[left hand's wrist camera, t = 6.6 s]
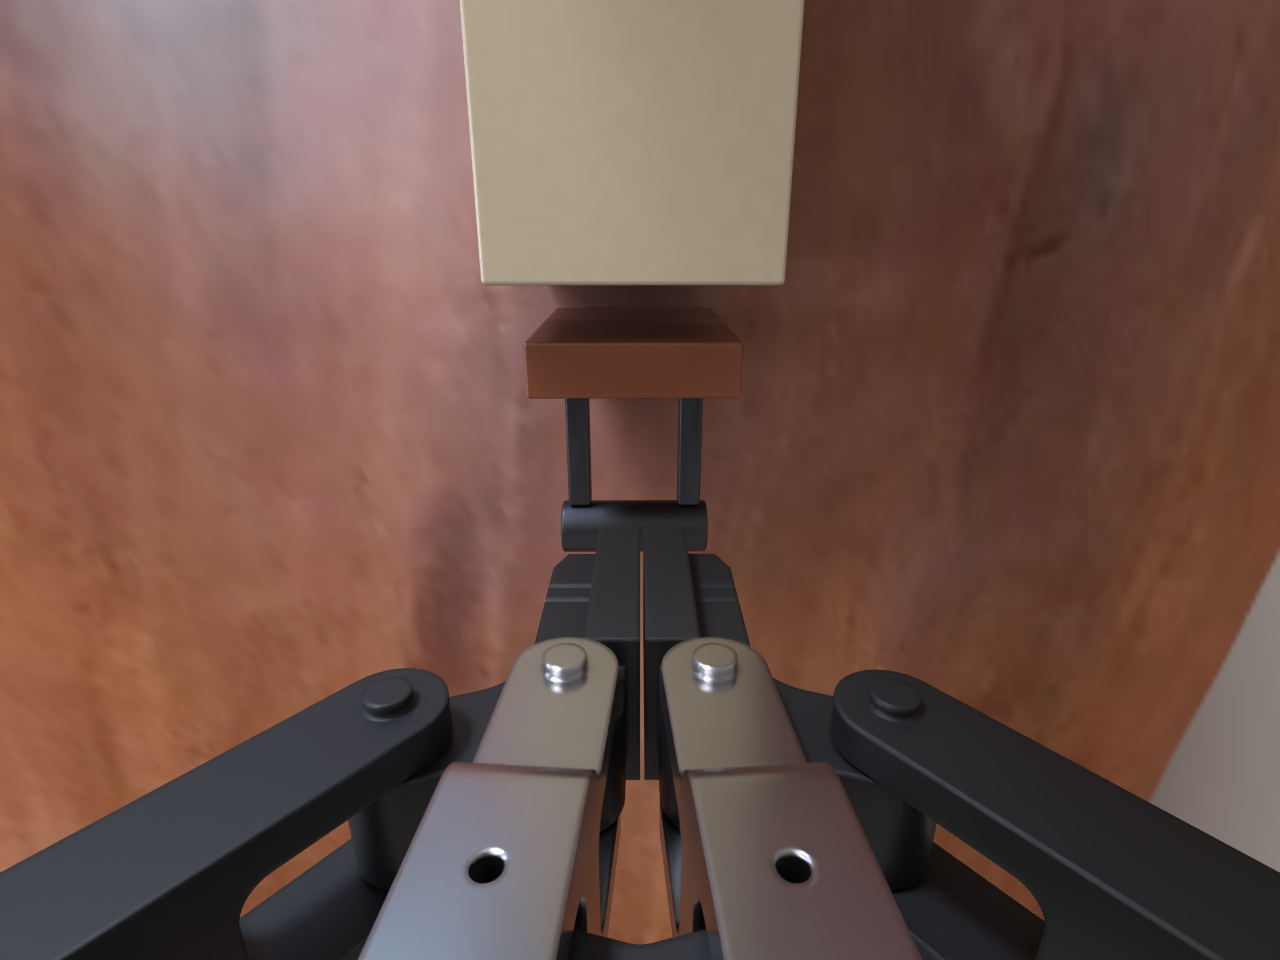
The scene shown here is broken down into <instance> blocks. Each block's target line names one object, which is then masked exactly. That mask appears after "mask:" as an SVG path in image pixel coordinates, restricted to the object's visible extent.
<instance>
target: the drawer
mask: <svg viewBox="0 0 1280 960" xmlns="http://www.w3.org/2000/svg"><path fill="white" fill-rule="evenodd" d="M524 359H525V376H526V394H527V397H528V398H530V399H535V398H565V410H566V436H567V462H568V488H569V501H564V502H563V506H562V516H561V538H562V547H563V550H564V551H565V552H593V551H596V548H597V540H598V533H599V527H640V551H643V546H644V527H684V529H685V535H686V542H687V549H688V551H705V549H706V546H707V508H706V503H705V501H704V500H700V472H701V441H702V410H703V398H739V397H740V396H741V380H742V360H743V343H742V342H741V340H740V339H739V338H738V337H737V336H736V335H735V334H734V333H733V332H732V331H731V330H730V329H729V327H728V326H727V325H726V324H725V323H724V322H723V321H722V320H721V319H720V318H719V317H718V316H717V314H716V313H715V312H714V311H713V310H712V309H711V308H557V309H556V310H555V311H554V312H553V313H552V314H551V315H550V316H549V317H548V318H547V319H546V321H545V322H544V323H543V324H542V325H541V326H540V327H539V328H538V329H537V330H536V331H535V332H534V333H533V334H532V335H531V336H530V338H529V339H528V340H527V341H526V342H525V343H524ZM589 398H679V412H678V463H677V500H595V501H591V499H592V486H591V448H590V410H589Z"/></svg>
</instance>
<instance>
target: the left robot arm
mask: <svg viewBox="0 0 1280 960" xmlns="http://www.w3.org/2000/svg"><path fill="white" fill-rule="evenodd" d="M643 646H644V767H645V780H659V790H660V822H659V826H660V839H661V847H662V855H663V863H664V871H665V880H666V888H667V896H668V904H669V912H670V920H671V929H672V937H673V938H670V939H666V940H662V941H658V942H654V943H650V944H644V945H636V944H630V943H626V942H622V941H618V940H614V939H610V938H607V937H608V929H609V920H610V912H611V904H612V896H613V888H614V880H615V871H616V863H617V855H618V847H619V839H620V826H621V822H620V813H621V812H622V809H623V806H624V802H625V783H626V780H640V527H599V533H598V540H597V548H596V554H569V555H567V556H566V557H565V558H564V559H563V560H562V561H561V562H560V563H559V564H558V565H557V566H555V567H554V568H553V572H552V576H551V580H550V584H549V589H548V593H547V597H546V602H545V605H544V609H543V613H542V617H541V621H540V625H539V629H538V633H537V637H536V641H535V645H532V646H531V647H529V648H527V649H526V650H525V651H523V652H522V653H521V654H520V655H519V656H518V657H517V658H516V660H515V661H514V663H513V665H512V668H511V670H510V673H509V675H508V677H507V680H506V681H505V682H503V683H501V684H499V685H496V686H494V687H491V688H488V689H484V690H480V691H476V692H472V693H467V694H462V695H458V696H453V697H449V692H448V688H447V685H446V683H445V682H444V681H443V679H441V678H440V677H439V676H437V675H436V674H433V673H431V672H429V671H425V670H421V669H411V668H403V669H393V670H387V671H383V672H379V673H376V674H373V675H370V676H367V677H365V678H363V679H361V680H359V681H357V682H355V683H353V684H351V685H349V686H347V687H346V688H344V689H342V690H340V691H338V692H336V693H334V694H332V695H331V696H329V697H327V698H325V699H323V700H321V701H319V702H318V703H316V704H314V705H312V706H310V707H308V708H306V709H304V710H303V711H301V712H299V713H297V714H295V715H293V716H291V717H290V718H288V719H286V720H284V721H282V722H280V723H278V724H277V725H275V726H273V727H271V728H269V729H267V730H265V731H263V732H262V733H260V734H258V735H256V736H254V737H252V738H250V739H249V740H247V741H245V742H243V743H241V744H239V745H237V746H236V747H234V748H232V749H230V750H228V751H226V752H224V753H222V754H221V755H219V756H217V757H215V758H213V759H211V760H209V761H208V762H206V763H204V764H202V765H200V766H198V767H196V768H195V769H193V770H191V771H189V772H187V773H185V774H183V775H181V776H180V777H178V778H176V779H174V780H172V781H170V782H168V783H167V784H165V785H163V786H161V787H159V788H157V789H155V790H153V791H152V792H150V793H148V794H146V795H144V796H142V797H140V798H139V799H137V800H135V801H133V802H131V803H129V804H127V805H126V806H124V807H122V808H120V809H118V810H116V811H114V812H112V813H111V814H109V815H107V816H105V817H103V818H101V819H99V820H98V821H96V822H94V823H92V824H90V825H88V826H86V827H85V828H83V829H81V830H79V831H77V832H75V833H73V834H71V835H70V836H68V837H66V838H64V839H62V840H60V841H58V842H57V843H55V844H53V845H51V846H49V847H47V848H45V849H44V850H42V851H40V852H38V853H36V854H34V855H32V856H30V857H29V858H27V859H25V860H23V861H21V862H19V863H17V864H16V865H14V866H12V867H10V868H8V869H6V870H4V871H3V872H1V873H0V960H1280V873H1279V872H1278V871H1276V870H1274V869H1272V868H1270V867H1268V866H1266V865H1264V864H1263V863H1261V862H1259V861H1257V860H1255V859H1253V858H1251V857H1250V856H1248V855H1246V854H1244V853H1242V852H1240V851H1238V850H1236V849H1235V848H1233V847H1231V846H1229V845H1227V844H1225V843H1223V842H1222V841H1220V840H1218V839H1216V838H1214V837H1212V836H1210V835H1209V834H1207V833H1205V832H1203V831H1201V830H1199V829H1197V828H1196V827H1194V826H1192V825H1190V824H1188V823H1186V822H1184V821H1182V820H1181V819H1179V818H1177V817H1175V816H1173V815H1171V814H1169V813H1168V812H1166V811H1164V810H1162V809H1160V808H1158V807H1156V806H1154V805H1153V804H1151V803H1149V802H1147V801H1145V800H1143V799H1141V798H1140V797H1138V796H1136V795H1134V794H1132V793H1130V792H1128V791H1127V790H1125V789H1123V788H1121V787H1119V786H1117V785H1115V784H1113V783H1112V782H1110V781H1108V780H1106V779H1104V778H1102V777H1100V776H1099V775H1097V774H1095V773H1093V772H1091V771H1089V770H1087V769H1086V768H1084V767H1082V766H1080V765H1078V764H1076V763H1074V762H1072V761H1071V760H1069V759H1067V758H1065V757H1063V756H1061V755H1059V754H1058V753H1056V752H1054V751H1052V750H1050V749H1048V748H1046V747H1045V746H1043V745H1041V744H1039V743H1037V742H1035V741H1033V740H1031V739H1030V738H1028V737H1026V736H1024V735H1022V734H1020V733H1018V732H1017V731H1015V730H1013V729H1011V728H1009V727H1007V726H1005V725H1003V724H1002V723H1000V722H998V721H996V720H994V719H992V718H990V717H989V716H987V715H985V714H983V713H981V712H979V711H977V710H976V709H974V708H972V707H970V706H968V705H966V704H964V703H962V702H961V701H959V700H957V699H955V698H953V697H951V696H949V695H948V694H946V693H944V692H942V691H940V690H938V689H936V688H935V687H933V686H931V685H929V684H927V683H925V682H923V681H921V680H919V679H917V678H914V677H911V676H909V675H906V674H902V673H898V672H893V671H887V670H865V671H859V672H855V673H852V674H850V675H848V676H846V677H844V678H843V679H842V680H841V681H840V682H839V683H838V684H837V686H836V688H835V691H834V697H833V696H829V695H824V694H819V693H815V692H810V691H806V690H802V689H798V688H795V687H792V686H789V685H786V684H784V683H782V682H780V681H778V680H776V679H775V678H773V677H772V675H771V673H770V670H769V668H768V665H767V663H766V661H765V660H764V658H763V657H762V656H761V655H760V654H759V653H758V652H757V651H755V650H754V649H753V648H751V647H750V643H749V639H748V635H747V631H746V627H745V623H744V620H743V616H742V612H741V608H740V604H739V602H738V596H737V593H736V589H735V588H734V581H733V577H732V573H731V569H730V567H728V566H727V565H726V564H725V563H724V562H723V561H722V560H721V559H720V558H718V557H717V556H716V555H715V554H688V549H687V542H686V535H685V529H684V527H644V546H643ZM347 820H348V821H349V827H350V832H351V837H352V839H350V840H349V841H348V842H346V843H345V844H343V845H342V846H341V847H339V848H338V849H336V850H335V851H334V852H332V853H331V854H329V855H328V856H327V857H325V858H324V859H322V860H321V861H320V862H318V863H317V864H315V865H314V866H313V867H311V868H310V869H308V870H307V871H306V872H304V873H303V874H301V875H300V876H299V877H297V878H296V879H294V880H293V881H292V882H290V883H289V884H287V885H286V886H285V887H283V888H282V889H280V890H279V891H278V892H276V893H275V894H273V895H272V896H271V897H269V898H268V899H266V900H265V901H264V902H262V903H261V904H259V905H258V906H257V907H255V908H254V909H252V910H251V911H250V912H248V913H247V914H245V915H244V916H243V917H241V918H240V913H241V910H242V907H243V905H244V903H245V901H246V899H247V898H248V896H249V895H250V893H251V892H252V890H253V889H254V888H255V887H256V886H257V885H258V883H260V882H261V881H262V880H263V879H264V878H265V877H266V876H267V875H269V874H270V873H271V872H273V871H274V870H276V869H277V868H279V867H280V866H282V865H283V864H284V863H286V862H287V861H289V860H290V859H292V858H293V857H295V856H296V855H297V854H299V853H300V852H302V851H303V850H305V849H306V848H308V847H309V846H311V845H312V844H313V843H315V842H316V841H318V840H319V839H321V838H322V837H324V836H325V835H326V834H328V833H329V832H331V831H332V830H334V829H335V828H337V827H338V826H340V825H341V824H342V823H344V822H345V821H347ZM936 823H938V824H939V825H941V826H942V827H943V828H945V829H946V830H948V831H949V832H951V833H952V834H954V835H955V836H956V837H958V838H959V839H961V840H962V841H964V842H965V843H967V844H968V845H970V846H971V847H972V848H974V849H975V850H977V851H978V852H980V853H981V854H983V855H984V856H985V857H987V858H988V859H990V860H991V861H993V862H994V863H996V864H997V865H998V866H1000V867H1001V868H1003V869H1004V870H1006V871H1007V872H1009V873H1010V874H1012V875H1013V876H1014V877H1016V878H1017V879H1018V880H1019V881H1020V882H1022V883H1023V884H1024V885H1025V886H1026V887H1027V888H1028V890H1029V891H1030V892H1031V893H1032V894H1033V896H1034V897H1035V899H1036V900H1037V902H1038V904H1039V905H1040V907H1041V910H1042V912H1043V915H1044V919H1045V921H1043V920H1042V919H1040V918H1039V917H1037V916H1036V915H1035V914H1033V913H1032V912H1030V911H1029V910H1028V909H1026V908H1025V907H1023V906H1022V905H1021V904H1019V903H1018V902H1016V901H1015V900H1014V899H1012V898H1011V897H1009V896H1008V895H1007V894H1005V893H1004V892H1002V891H1001V890H1000V889H998V888H997V887H995V886H994V885H993V884H991V883H990V882H988V881H987V880H986V879H984V878H983V877H981V876H980V875H979V874H977V873H976V872H974V871H973V870H972V869H970V868H969V867H967V866H966V865H965V864H963V863H962V862H960V861H959V860H958V859H956V858H955V857H954V856H952V855H951V854H949V853H948V852H947V851H945V850H944V849H942V848H941V847H940V846H938V845H937V844H935V843H934V842H933V838H934V833H935V828H936Z"/></svg>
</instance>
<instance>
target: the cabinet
mask: <svg viewBox="0 0 1280 960" xmlns="http://www.w3.org/2000/svg"><path fill="white" fill-rule="evenodd" d="M460 10H461V23H462V36H463V49H464V62H465V76H466V89H467V102H468V115H469V128H470V141H471V154H472V167H473V180H474V193H475V206H476V219H477V232H478V245H479V258H480V271H481V281H482V283H483V284H484V285H782V284H783V283H784V281H785V272H786V258H787V244H788V229H789V215H790V201H791V186H792V172H793V158H794V143H795V129H796V115H797V100H798V86H799V71H800V57H801V43H802V28H803V14H804V0H460Z"/></svg>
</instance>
